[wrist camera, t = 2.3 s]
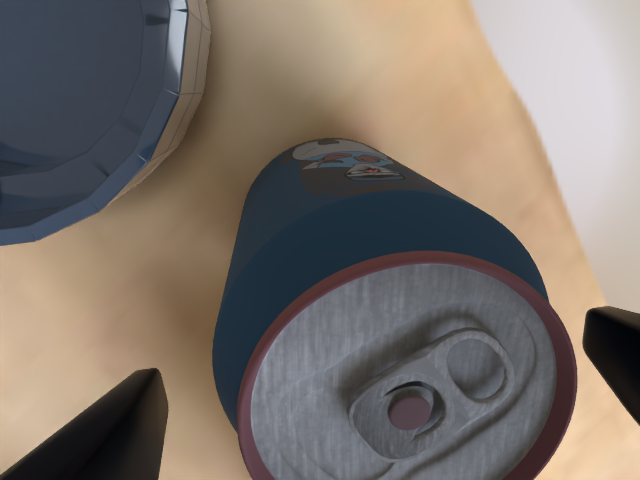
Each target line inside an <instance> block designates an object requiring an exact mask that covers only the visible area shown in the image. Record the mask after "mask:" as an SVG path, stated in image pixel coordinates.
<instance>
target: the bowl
mask: <svg viewBox="0 0 640 480" xmlns="http://www.w3.org/2000/svg"><path fill="white" fill-rule="evenodd" d="M210 32H211V27H210V21H209V16H208V10H207V4H206V0H0V246H5V245H12V244H20V243H28V242H35V241H37V240H41V239H43V238H45V237H47V236H50V235H52V234H54V233H56V232H58V231H60V230H62V229H64V228H66V227H69V226H71V225H73V224H75V223H77V222H79V221H81V220H83V219H85V218H88V217H90V216H92V215H94V214H96V213H98V212H100V211H101V210H103V209H104V208H105V207H107V206H108V205H110V204H111V203H112V202H114V201H115V200H117V199H118V198H120V197H121V196H122V195H124V194H125V193H127V192H128V191H129V190H131V189H132V188H134V187H135V186H137V185H138V184H139V183H141V182H142V181H144V180H145V179H146V178H147V177H148V176H149V175H150V174H151V173H152V172H153V171H154V170H155V169H156V168H157V167H158V166H159V165H160V164H161V163H162V162H163V161H164V160H165V159H166V158H167V157H168V156H169V155H170V154H171V153H172V152H173V151H174V150H175V149H176V148H177V147H178V146H179V143H181V141H182V139H183V136H184V134H185V132H186V130H187V128H188V126H189V124H190V122H191V120H192V117H193V115H194V113H195V111H196V109H197V107H198V105H199V103H200V101H201V98H202V96H203V92H204V88H205V80H206V71H207V63H208V55H209V47H210V39H211V33H210Z"/></svg>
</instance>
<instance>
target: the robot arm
mask: <svg viewBox="0 0 640 480" xmlns="http://www.w3.org/2000/svg"><path fill="white" fill-rule="evenodd" d="M582 344H583V349H584V351H585V353H586V355H587V356H588V358H589V359H590V361H591V362H592V363H593V365H594V366H595V367H596V369H597V370H598V372H599V373H600V374H601V376H602V377H603V378H604V380H605V381H606V383H607V384H608V385H609V387H610V388H611V389H612V391H613V392H614V394H615V395H616V396H617V398H618V399H619V400H620V402H621V403H622V405H623V406H624V407H625V408H626V410H627V411H628V412H629V414H630V415H631V416H632V417H633V419H634V420H635V421H636V422H637V423H638V425H639V426H640V314H638V313H634V312H630V311H626V310H623V309H619V308H614V307H610V306H605V307H598V308H592V309H590V310H588V312H587V313H586V317H585V325H584V333H583V341H582ZM167 418H168V400H167V396H166V392H165V388H164V384H163V380H162V376H161V373H160V371H159V370H158V369H157V368H149V369H142V370H137V371H135V372H134V373H132V374H131V375H130V376H128V377H127V378H126V379H125V380H123V381H122V382H121V383H119V384H118V385H117V386H115V387H114V388H113V389H112V390H110V391H109V392H108V393H106V394H105V395H104V396H103V397H101V398H100V399H99V400H97V401H96V402H95V403H93V404H92V405H91V406H90V407H88V408H87V409H86V410H84V411H83V412H82V413H80V414H79V415H78V416H77V417H75V418H74V419H73V420H71V421H70V422H69V423H67V424H66V425H65V426H64V427H62V428H61V429H60V430H58V431H57V432H56V433H54V434H53V435H52V436H51V437H49V438H48V439H47V440H45V441H44V442H43V443H41V444H40V445H39V446H38V447H36V448H35V449H34V450H32V451H31V452H30V453H28V454H27V455H26V456H25V457H23V458H22V459H21V460H19V461H18V462H17V463H15V464H14V465H13V466H12V467H10V468H9V469H8V470H6V471H5V472H4V473H2V474H1V475H0V480H158V478H159V471H160V465H161V458H162V451H163V445H164V438H165V432H166V425H167Z"/></svg>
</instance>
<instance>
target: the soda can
mask: <svg viewBox="0 0 640 480" xmlns="http://www.w3.org/2000/svg"><path fill="white" fill-rule="evenodd" d="M212 364H213V373H214V379H215V384H216V389H217V392H218V396H219V399H220V402H221V404H222V406H223V409H224V411H225V413H226V415H227V417H228V419H229V421H230V423H231V424H232V426H233V428H234V429H235V431H236V432H237V434H238V440H239V446H240V450H241V454H242V457H243V460H244V463H245V465H246V467H247V470H248V472H249V474H250V476H251V477H252V479H253V480H534V479H535V478H536V477H537V475H538V474H539V473H540V472H541V471H542V470H543V468H544V467H545V466H546V464H547V463H548V462H549V460H550V459H551V457H552V456H553V455H554V453H555V451H556V450H557V448H558V446H559V445H560V443H561V441H562V439H563V437H564V435H565V433H566V430H567V428H568V425H569V423H570V420H571V417H572V413H573V410H574V405H575V400H576V393H577V365H576V359H575V354H574V350H573V346H572V343H571V340H570V337H569V335H568V333H567V330H566V328H565V326H564V324H563V323H562V321H561V319H560V318H559V316H558V314H557V313H556V312H555V311H554V309H553V308H552V307H551V305H550V303H549V300H548V296H547V292H546V288H545V285H544V283H543V280H542V277H541V275H540V273H539V270H538V268H537V266H536V264H535V262H534V261H533V259H532V258H531V256H530V254H529V253H528V251H527V250H526V249H525V247H524V246H523V245H522V243H521V242H520V241H519V240H518V239H517V238H516V237H515V236H514V234H513V233H512V232H510V231H509V230H508V229H507V228H506V227H505V226H504V225H503V224H501V223H500V222H499V221H497V220H496V219H495V218H493V217H492V216H490V215H488V214H487V213H485V212H484V211H482V210H480V209H479V208H477V207H475V206H473V205H472V204H470V203H468V202H466V201H465V200H463V199H461V198H459V197H458V196H456V195H454V194H452V193H451V192H449V191H447V190H446V189H444V188H442V187H440V186H439V185H437V184H435V183H433V182H432V181H430V180H428V179H426V178H425V177H423V176H421V175H420V174H418V173H416V172H414V171H413V170H411V169H409V168H407V167H406V166H404V165H402V164H400V163H399V162H397V161H395V160H393V159H392V158H390V157H388V156H387V155H385V154H383V153H381V152H380V151H378V150H376V149H374V148H372V147H370V146H368V145H366V144H363V143H360V142H357V141H353V140H349V139H341V138H324V139H317V140H312V141H308V142H304V143H302V144H299V145H296V146H294V147H292V148H290V149H288V150H286V151H285V152H283V153H282V154H280V155H279V156H277V157H276V158H275V159H273V160H272V161H271V162H270V163H269V164H268V165H267V166H266V167H265V168H264V169H263V170H262V171H261V173H260V174H259V175H258V177H257V178H256V180H255V181H254V183H253V184H252V186H251V188H250V190H249V192H248V195H247V197H246V200H245V204H244V207H243V212H242V216H241V220H240V224H239V229H238V233H237V237H236V242H235V246H234V250H233V254H232V259H231V263H230V267H229V272H228V276H227V280H226V284H225V289H224V293H223V297H222V302H221V306H220V310H219V314H218V319H217V323H216V327H215V333H214V339H213V350H212Z"/></svg>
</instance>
